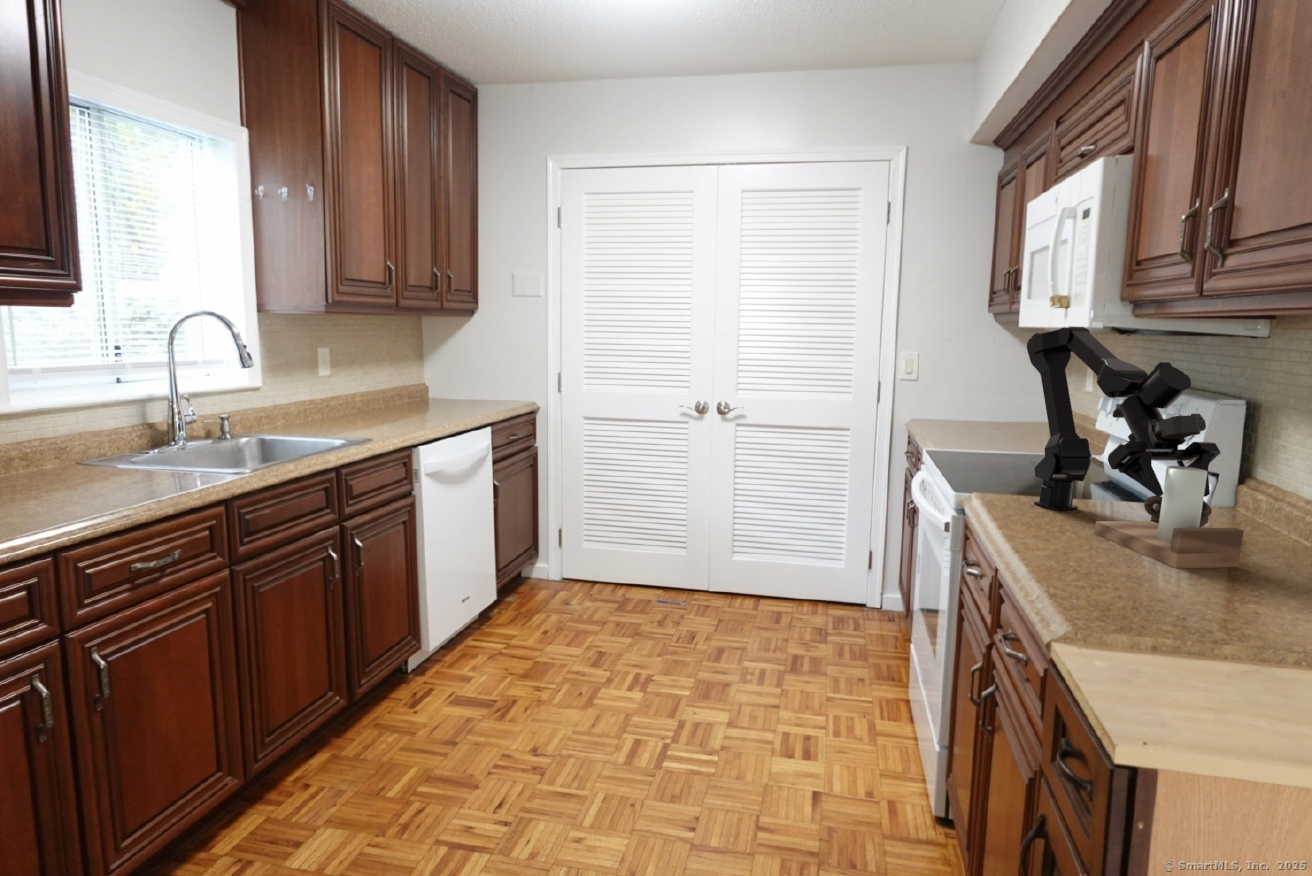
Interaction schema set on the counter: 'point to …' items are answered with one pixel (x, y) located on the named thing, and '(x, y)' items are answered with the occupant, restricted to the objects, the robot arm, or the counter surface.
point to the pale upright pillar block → (1181, 500)
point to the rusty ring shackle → (1156, 511)
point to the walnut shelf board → (1156, 547)
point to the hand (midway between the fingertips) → (1183, 495)
